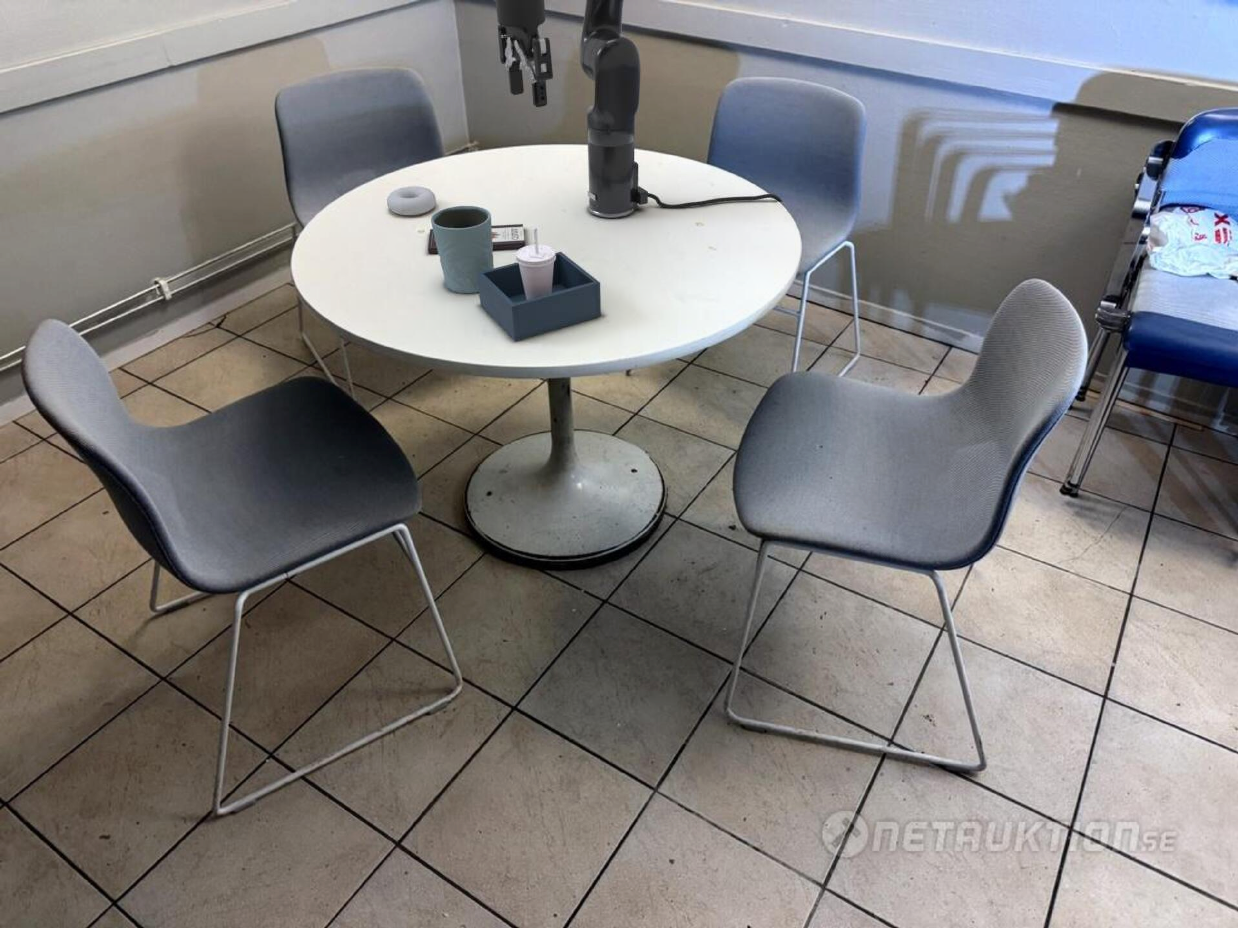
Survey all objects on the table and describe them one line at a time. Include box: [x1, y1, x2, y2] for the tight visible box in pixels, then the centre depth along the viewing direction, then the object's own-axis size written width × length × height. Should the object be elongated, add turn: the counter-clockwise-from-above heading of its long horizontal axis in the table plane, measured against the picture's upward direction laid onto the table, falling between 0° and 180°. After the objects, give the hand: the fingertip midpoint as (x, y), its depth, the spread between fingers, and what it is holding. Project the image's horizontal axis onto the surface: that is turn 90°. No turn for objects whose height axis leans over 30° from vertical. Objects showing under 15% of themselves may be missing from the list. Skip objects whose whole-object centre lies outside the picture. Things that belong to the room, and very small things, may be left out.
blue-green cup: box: [430, 205, 495, 294], centre depth 143 cm, size 10×10×12 cm
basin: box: [477, 251, 602, 342], centre depth 137 cm, size 16×14×6 cm
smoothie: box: [515, 226, 556, 300], centre depth 134 cm, size 6×6×14 cm
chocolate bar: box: [427, 223, 526, 254], centre depth 160 cm, size 9×1×18 cm
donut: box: [386, 185, 437, 216], centre depth 172 cm, size 10×4×10 cm
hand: (528, 100), depth 139 cm, fingers open, 8 cm apart
